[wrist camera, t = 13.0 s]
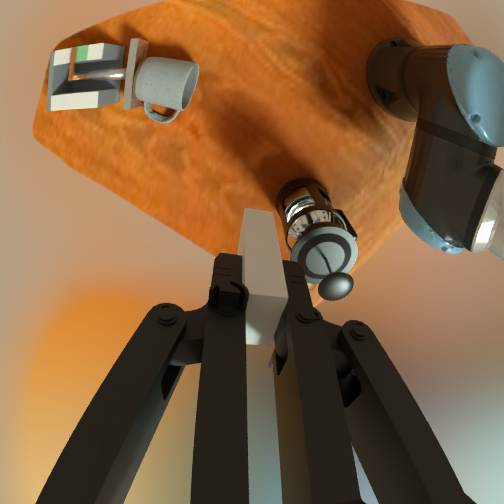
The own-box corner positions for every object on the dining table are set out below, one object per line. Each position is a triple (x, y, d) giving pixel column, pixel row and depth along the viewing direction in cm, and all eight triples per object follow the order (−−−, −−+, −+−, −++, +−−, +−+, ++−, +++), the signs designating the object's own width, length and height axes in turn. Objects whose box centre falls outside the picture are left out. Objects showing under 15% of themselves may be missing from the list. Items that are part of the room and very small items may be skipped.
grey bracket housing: (125, 46, 33) (106, 42, 27) (119, 102, 38) (99, 107, 32) (73, 52, 32) (50, 52, 26) (69, 104, 37) (46, 111, 31)
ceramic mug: (153, 56, 35) (136, 54, 28) (202, 64, 36) (194, 62, 30) (139, 116, 40) (121, 125, 34) (185, 125, 42) (174, 135, 36)
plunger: (149, 41, 32) (132, 36, 26) (141, 105, 38) (123, 111, 32) (82, 47, 31) (58, 46, 25) (76, 107, 37) (53, 114, 31)
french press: (268, 222, 52) (282, 316, 33) (277, 173, 47) (300, 249, 28) (329, 229, 53) (370, 318, 34) (342, 183, 48) (399, 259, 29)
